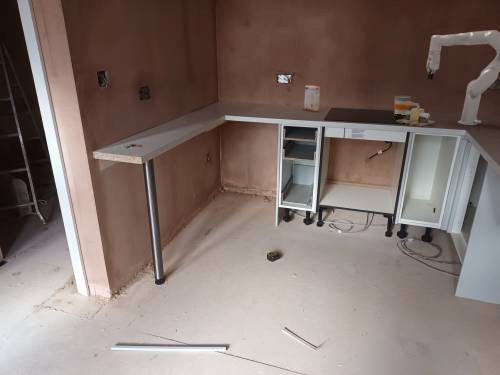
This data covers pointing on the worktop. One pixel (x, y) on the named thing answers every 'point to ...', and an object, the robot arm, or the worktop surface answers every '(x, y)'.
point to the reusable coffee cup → (401, 104)
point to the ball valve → (417, 114)
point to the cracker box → (312, 98)
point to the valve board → (422, 123)
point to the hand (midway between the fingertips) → (430, 79)
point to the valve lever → (412, 104)
